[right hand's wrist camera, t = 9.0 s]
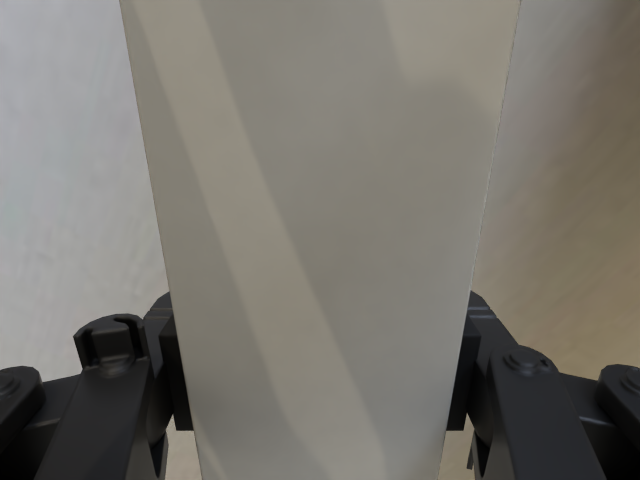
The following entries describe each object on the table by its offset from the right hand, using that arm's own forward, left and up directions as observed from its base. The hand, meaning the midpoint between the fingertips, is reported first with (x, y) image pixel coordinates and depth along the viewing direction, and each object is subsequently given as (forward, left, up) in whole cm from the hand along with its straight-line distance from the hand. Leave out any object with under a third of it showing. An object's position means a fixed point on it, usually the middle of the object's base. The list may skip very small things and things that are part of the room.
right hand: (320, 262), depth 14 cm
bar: (+5, +5, -1) cm, 8 cm away
